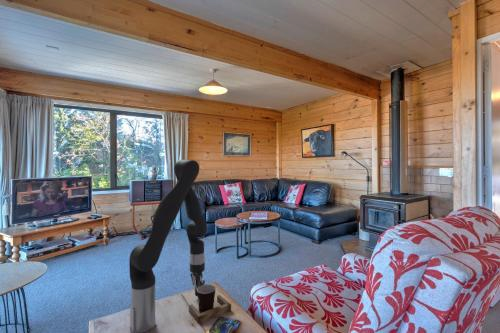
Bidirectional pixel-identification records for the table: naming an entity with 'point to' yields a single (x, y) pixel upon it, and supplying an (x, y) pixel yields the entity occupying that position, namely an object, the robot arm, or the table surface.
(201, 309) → the coffee mug
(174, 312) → the table surface
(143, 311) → the robot arm
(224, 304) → the walnut corral
